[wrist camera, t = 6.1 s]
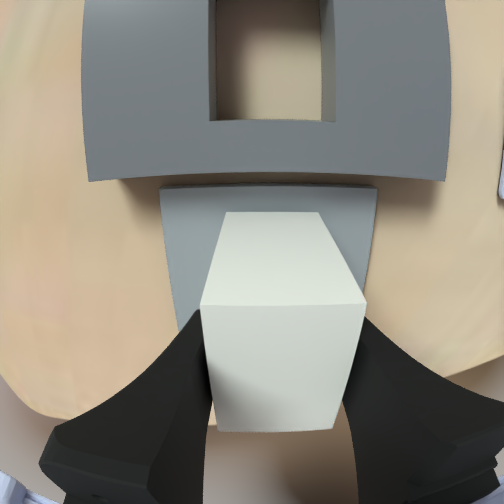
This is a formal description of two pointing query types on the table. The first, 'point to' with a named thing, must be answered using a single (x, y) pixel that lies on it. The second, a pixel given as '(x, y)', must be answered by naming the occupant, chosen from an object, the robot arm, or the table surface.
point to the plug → (279, 323)
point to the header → (265, 130)
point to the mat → (255, 200)
